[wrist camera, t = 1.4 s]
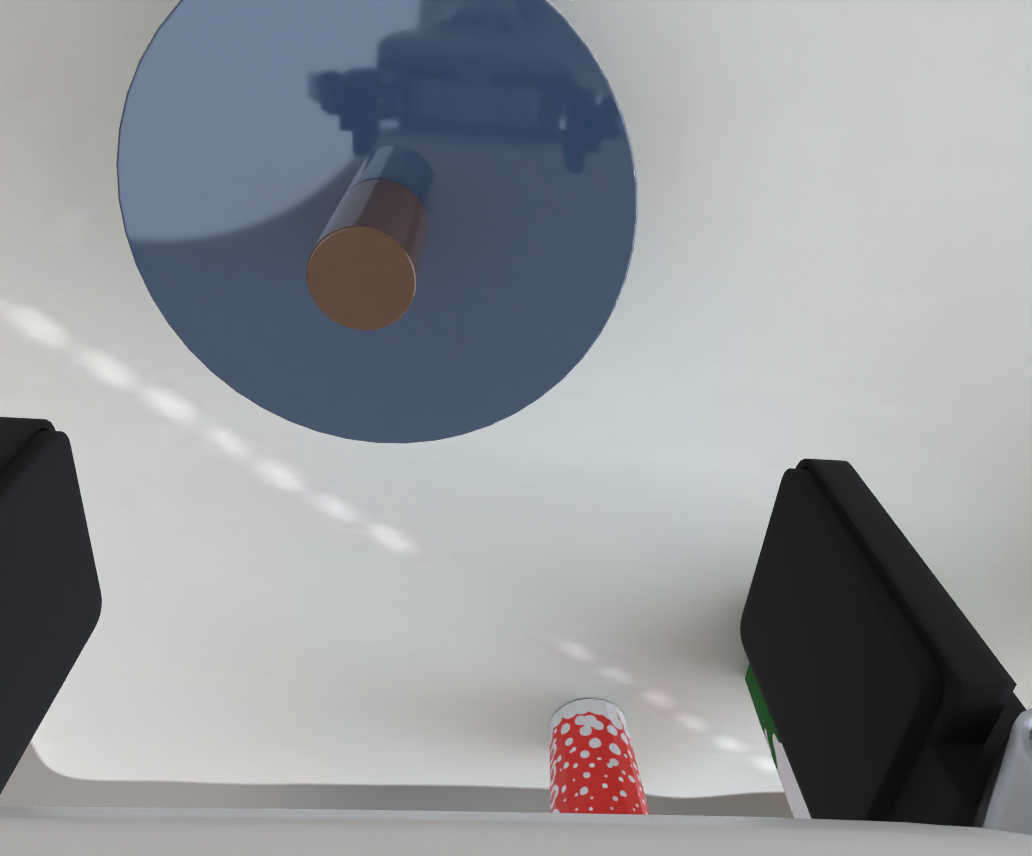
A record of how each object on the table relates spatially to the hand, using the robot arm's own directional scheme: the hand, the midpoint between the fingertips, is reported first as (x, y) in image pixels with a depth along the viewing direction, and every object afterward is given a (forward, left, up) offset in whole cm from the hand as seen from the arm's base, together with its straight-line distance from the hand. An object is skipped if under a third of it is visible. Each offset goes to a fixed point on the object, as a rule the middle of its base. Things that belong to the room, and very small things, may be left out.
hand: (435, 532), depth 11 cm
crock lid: (+1, -2, -15) cm, 15 cm away
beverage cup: (+24, +25, -25) cm, 43 cm away
